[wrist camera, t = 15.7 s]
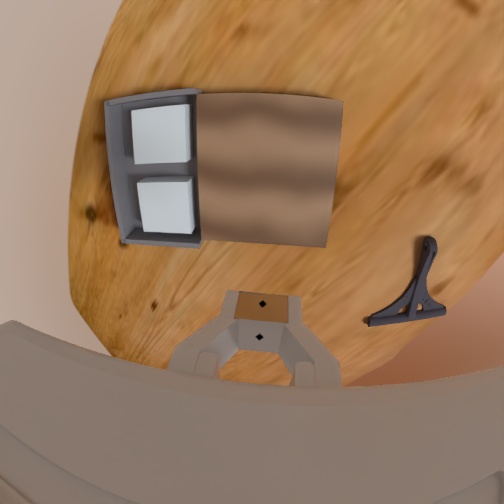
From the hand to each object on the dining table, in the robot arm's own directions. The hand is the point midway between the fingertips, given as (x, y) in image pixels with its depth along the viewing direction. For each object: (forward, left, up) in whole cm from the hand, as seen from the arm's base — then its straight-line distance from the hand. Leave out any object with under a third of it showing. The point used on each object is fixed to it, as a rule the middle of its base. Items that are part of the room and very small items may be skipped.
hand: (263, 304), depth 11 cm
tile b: (+3, -12, -20) cm, 24 cm away
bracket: (+13, +22, -21) cm, 34 cm away
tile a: (-5, -12, -20) cm, 24 cm away
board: (-1, -1, -21) cm, 21 cm away
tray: (-1, -13, -21) cm, 24 cm away
